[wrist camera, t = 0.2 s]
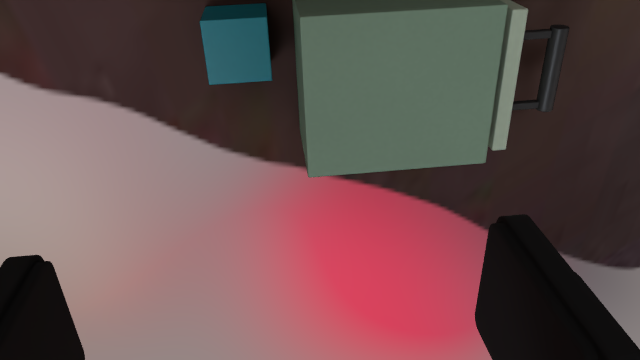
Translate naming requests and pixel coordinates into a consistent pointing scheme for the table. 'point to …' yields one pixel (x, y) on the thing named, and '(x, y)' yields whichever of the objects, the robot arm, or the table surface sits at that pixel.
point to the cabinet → (396, 82)
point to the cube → (236, 43)
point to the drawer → (510, 66)
